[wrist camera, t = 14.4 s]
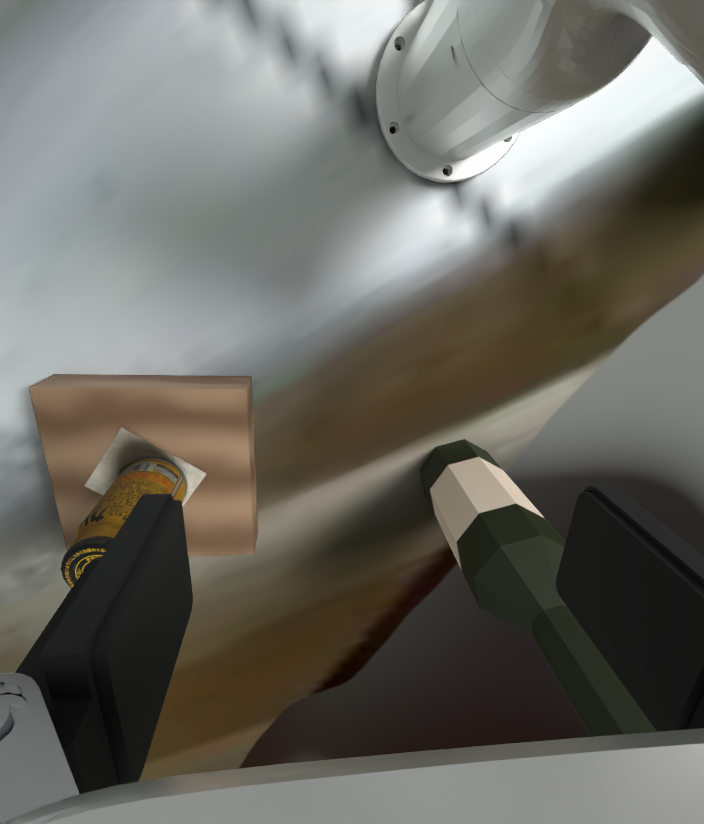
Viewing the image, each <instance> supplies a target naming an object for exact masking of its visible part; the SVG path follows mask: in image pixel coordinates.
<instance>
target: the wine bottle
mask: <svg viewBox="0 0 704 824" xmlns="http://www.w3.org/2000/svg"><path fill="white" fill-rule="evenodd" d="M420 473H421V477H422V482H423V487H424V492H425V495H426V497H427V499H428V501H429V503H430V505H431V507H432V509H433V512H434V514H435V516H436V518H437V520H438V522H439V524H440V526H441V528H442V530H443V532H444V535H445V537H446V539H447V541H448V543H449V545H450V547H451V549H452V551H453V553H454V556H455V558H456V560H457V562H458V564H459V566H460V568H461V570H462V572H463V574H464V576H465V579H466V580H467V583H468V585H469V587H470V589H471V591H472V593H473V595H474V597H475V599H476V602H477V604H478V606H479V608H480V609H482V610H484V611H486V612H488V613H489V614H492V615H493V616H495V617H497V618H499V619H500V620H502V621H504V622H506V623H508V624H510V625H512V626H513V627H515V628H517V629H519V630H521V631H523V632H524V633H526V634H528V635H530V636H532V637H533V638H534V640H535V642H536V644H537V645H538V647H539V648H540V650H541V652H542V654H543V656H544V657H545V659H546V661H547V663H548V664H549V666H550V668H551V670H552V671H553V673H554V675H555V676H556V678H557V680H558V682H559V683H560V685H561V687H562V688H563V690H564V692H565V694H566V696H567V697H568V699H569V701H570V702H571V704H572V706H573V708H574V709H575V711H576V713H577V714H578V716H579V718H580V720H581V721H582V723H583V725H584V727H585V728H586V730H587V732H588V733H589V735H590V737H598V736H610V735H623V734H636V733H649V732H657V731H656V729H655V728H654V727H653V725H652V724H651V723H650V721H649V720H648V719H647V717H646V716H645V714H644V713H643V712H642V710H641V709H640V707H639V706H638V705H637V703H636V702H635V700H634V699H633V698H632V696H631V695H630V693H629V692H628V691H627V689H626V688H625V686H624V685H623V684H622V682H621V681H620V680H619V678H618V677H617V675H616V674H615V673H614V671H613V670H612V668H611V667H610V666H609V664H608V663H607V661H606V660H605V659H604V657H603V656H602V654H601V653H600V652H599V650H598V649H597V647H596V646H595V645H594V643H593V642H592V641H591V639H590V638H589V636H588V635H587V634H586V632H585V631H584V629H583V628H582V627H581V625H580V624H579V622H578V621H577V620H576V618H575V617H574V615H573V614H572V613H571V611H570V610H569V608H568V607H567V606H566V604H565V603H564V602H563V600H562V599H561V597H560V596H559V594H558V592H557V589H556V577H557V573H558V570H559V566H560V562H561V558H562V555H563V551H564V547H565V543H566V542H565V541H564V540H563V539H562V538H561V537H560V535H559V534H558V533H557V532H556V531H555V530H554V529H553V527H552V526H551V525H550V524H549V523H548V522H547V521H546V520H545V518H544V517H543V516H542V515H541V514H540V512H539V511H538V510H537V509H536V508H535V507H534V505H533V504H532V503H531V502H530V501H529V500H528V499H527V498H526V496H525V495H524V494H523V493H522V492H521V491H520V489H519V488H518V487H517V486H516V485H515V484H514V482H513V481H512V480H511V479H510V478H509V477H508V475H507V474H506V473H505V472H504V471H503V470H502V469H501V467H500V466H499V465H498V464H497V463H496V462H495V460H494V459H493V458H492V457H491V456H490V455H489V454H488V452H486V451H485V450H483V449H481V448H479V447H477V446H476V445H474V444H472V443H470V442H468V441H467V440H465V439H464V440H460V441H456V442H453V443H449V444H445V445H441V446H438V447H436V448H435V449H434V451H433V452H432V454H431V455H430V456H429V458H428V459H427V461H426V462H425V463H424V465H423V466H422V468H421V469H420Z"/></svg>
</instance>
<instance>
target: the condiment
mask: <svg viewBox="0 0 704 824" xmlns="http://www.w3.org/2000/svg"><path fill="white" fill-rule="evenodd" d="M205 476H206V473H204V472H203V471H201V470H199V469H197V468H196V467H194V466H192V465H191V464H189V463H187V462H185V461H183V460H182V459H180V458H178V457H176V456H174V455H173V454H171V453H168V452H166V451H165V450H163V449H160V448H158V447H156V446H155V445H153V444H152V443H150V442H148V441H146V440H144V439H143V438H141V437H139V436H136V435H134V434H132V433H130V432H129V431H127V430H125V429H123V428H122V427H121V429H120V430H119V432H118V434H117V435H116V437H115V438H114V440H113V442H112V443H111V445H110V446H109V448H108V450H107V451H106V453H105V454H104V456H103V458H102V459H101V461H100V462H99V464H98V465H97V467H96V469H95V470H94V472H93V473H92V475H91V477H90V478H89V480H88V481H87V483H86V484H85V487H87V488H90V489H91V490H93V491H95V492H98V493H100V494H102V495H103V497H102V498H101V499H100V501H99V502H98V503H97V505H96V506H95V507H94V508H93V509H92V511H91V512H90V513H89V515H88V516H87V517H86V518H85V520H84V521H83V522H82V523H81V524H80V526H79V528H78V530H77V532H76V536H75V540H74V542H73V543H72V545H71V547H70V548H69V550H68V551H67V553H66V554H65V556H64V558H63V561H62V566H61V571H62V575H63V578H64V580H65V581H66V583H67V584H68V585H69V586H70V587H71V588H72V587H73V586H74V584H75V583H76V581H77V580H78V578H79V577H80V575H81V574H82V572H83V571H84V569H85V568H86V566H87V565H88V564H89V563H90V561H91V560H92V559H94V558H96V557H102V556H103V555H104V553H105V552H106V550H107V549H108V547H109V545H110V544H111V542H112V541H113V539H114V538H115V536H116V535H117V533H118V531H119V530H120V528H121V527H122V525H123V524H124V522H125V520H126V519H127V517H128V516H129V514H130V513H131V511H132V510H133V508H134V506H135V505H136V503H137V502H138V500H139V499H140V497H141V496H142V495H143V494H171V495H172V496H173V499H174V500H180V501H181V502H182V507H183V506H184V505H185V503H186V502H187V500H188V499H189V498H190V496H191V495H192V493H193V492H194V491H195V489H196V488H197V487H198V485H199V484H200V483H201V481H202V480H203V478H204V477H205Z"/></svg>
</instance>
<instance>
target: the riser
mask: <svg viewBox="0 0 704 824" xmlns="http://www.w3.org/2000/svg"><path fill="white" fill-rule="evenodd" d="M29 391H30V395H31V400H32V404H33V408H34V412H35V416H36V421H37V425H38V429H39V433H40V437H41V442H42V446H43V450H44V454H45V458H46V463H47V467H48V471H49V475H50V480H51V484H52V488H53V492H54V496H55V501H56V505H57V509H58V513H59V517H60V522H61V526H62V530H63V534H64V539H65V543H66V547H67V551H68V550H69V548H70V547H71V545H72V543H73V542H74V540H75V536H76V532H77V530H78V528H79V526H80V524H81V523H82V522H83V521H84V520H85V518H86V517H87V516H88V515H89V513H90V512H91V511H92V509H93V508H94V507H95V506H96V505H97V503H98V502H99V501H100V499H101V498H102V497H103V495H102V494H100V493H98V492H95V491H93V490H91V489H90V488H87V487H85V484H86V483H87V481H88V480H89V478H90V477H91V475H92V473H93V472H94V470H95V469H96V467H97V465H98V464H99V462H100V461H101V459H102V458H103V456H104V454H105V453H106V451H107V450H108V448H109V446H110V445H111V443H112V442H113V440H114V438H115V437H116V435H117V434H118V432H119V430H120V429H121V427H122V428H123V429H125V430H127V431H129V432H130V433H132V434H134V435H136V436H139V437H141V438H143V439H144V440H146V441H148V442H150V443H152V444H153V445H155V446H156V447H158V448H160V449H163V450H165V451H166V452H168V453H171V454H173V455H174V456H176V457H178V458H180V459H182V460H183V461H185V462H187V463H189V464H191V465H192V466H194V467H196V468H197V469H199V470H201V471H203V472H204V473H206V476H205V477H204V478H203V480H202V481H201V483H200V484H199V485H198V487H197V488H196V489H195V491H194V492H193V493H192V495H191V496H190V498H189V499H188V500H187V502H186V503H185V505H184V506H183V516H184V524H185V533H186V542H187V550H188V556H214V555H244V554H254V553H255V547H256V540H257V534H258V517H257V493H256V470H255V447H254V424H253V401H252V377H251V376H166V375H75V374H54V375H52V376H50V377H48V378H46V379H44V380H42V381H40V382H38V383H37V384H35V385H33V386H31V387H29Z"/></svg>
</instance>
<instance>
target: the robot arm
mask: <svg viewBox="0 0 704 824" xmlns="http://www.w3.org/2000/svg"><path fill="white" fill-rule="evenodd" d="M652 36H654V37H655V38H656V39H657V40H658V41H659V42H660V43H661V44H662V45H663V46H664V47H665V48H666V49H667V50H668V51H669V52H670V53H671V55H672V56H673V57H674V58H675V59H676V60H677V61H678V62H679V63H682V64H684V65H685V66H686V67H687V68H688V69H689V70H690V71H691V72H692V73H693V74H694V75H695V76H696V77H697V78H698V79H699V80H700V81H701V82H702V83H703V84H704V0H425V1H424V2H422V3H421V4H419V5H417V6H416V7H415V8H414V9H413V10H412V11H411V12H410V13H408V14H407V15H406V16H405V17H404V18H403V20H402V21H401V22H400V24H399V25H398V27H397V28H396V29H395V31H394V32H393V34H392V36H391V38H390V40H389V42H388V44H387V46H386V48H385V51H384V53H383V56H382V59H381V61H380V66H379V70H378V75H377V80H376V107H377V116H378V120H379V123H380V127H381V131H382V133H383V135H384V138H385V140H386V142H387V144H388V146H389V148H390V149H391V151H392V152H393V153H394V155H395V156H396V158H397V159H398V160H399V161H400V162H401V163H402V164H403V165H404V166H405V167H406V168H407V169H409V170H410V171H412V172H413V173H415V174H417V175H418V176H420V177H422V178H425V179H428V180H431V181H435V182H444V183H450V182H459V181H463V180H466V179H470V178H472V177H475V176H477V175H479V174H481V173H483V172H485V171H486V170H488V169H489V168H491V167H492V166H493V165H495V164H496V163H497V162H498V161H499V160H500V159H501V158H502V157H503V156H504V155H505V154H506V153H507V152H508V150H509V149H510V148H511V146H512V145H513V144H514V142H515V141H516V139H517V137H518V135H519V133H520V132H521V131H523V130H525V129H527V128H529V127H531V126H533V125H535V124H537V123H539V122H541V121H543V120H545V119H547V118H549V117H551V116H553V115H555V114H557V113H559V112H561V111H563V110H565V109H566V108H568V107H570V106H572V105H574V104H576V103H577V102H579V101H581V100H583V99H585V98H587V97H589V96H591V95H593V94H594V93H596V92H598V91H599V90H601V89H602V88H604V87H605V86H606V85H608V84H609V83H611V82H612V81H613V80H614V79H615V78H617V77H618V76H619V75H620V74H621V73H622V72H623V71H624V70H625V69H626V68H627V67H628V66H629V65H630V64H631V63H632V62H633V61H634V60H635V59H636V58H637V56H638V55H639V54H640V53H641V51H642V50H643V49H644V47H645V46H646V44H647V43H648V42H649V40H650V39H651V37H652ZM395 45H399V46H400V51H398V50H396V48H395ZM391 127H393V128H394V129H395V133H394V134H392V133H391V132H390V128H391ZM503 140H505V142H504V141H503ZM443 169H446V170H447V174H446V175H443V172H442V171H443ZM556 589H557V592H558V594H559V596H560V597H561V599H562V600H563V602H564V603H565V604H566V606H567V607H568V608H569V610H570V611H571V613H572V614H573V615H574V617H575V618H576V620H577V621H578V622H579V624H580V625H581V627H582V628H583V629H584V631H585V632H586V634H587V635H588V636H589V638H590V639H591V641H592V642H593V643H594V645H595V646H596V647H597V649H598V650H599V652H600V653H601V654H602V656H603V657H604V659H605V660H606V661H607V663H608V664H609V666H610V667H611V668H612V670H613V671H614V673H615V674H616V675H617V677H618V678H619V680H620V681H621V682H622V684H623V685H624V686H625V688H626V689H627V691H628V692H629V693H630V695H631V696H632V698H633V699H634V700H635V702H636V703H637V705H638V706H639V707H640V709H641V710H642V712H643V713H644V714H645V716H646V717H647V719H648V720H649V721H650V723H651V724H652V725H653V727H654V728H655V729H656V731H657V732H649V733H636V734H623V735H610V736H598V737H586V738H575V739H562V740H551V741H538V742H526V743H514V744H502V745H491V746H479V747H468V748H456V749H444V750H432V751H421V752H410V753H399V754H388V755H378V756H367V757H355V758H344V759H334V760H323V761H311V762H301V763H289V764H278V765H269V766H261V767H251V768H242V769H233V770H224V771H215V772H206V773H196V774H187V775H178V776H171V777H164V778H158V779H152V780H146V781H140V782H138V780H139V778H140V777H141V774H142V771H143V768H144V765H145V761H146V758H147V755H148V751H149V748H150V745H151V742H152V738H153V735H154V732H155V729H156V725H157V722H158V719H159V715H160V712H161V709H162V706H163V702H164V699H165V696H166V693H167V689H168V686H169V683H170V679H171V676H172V673H173V670H174V666H175V663H176V660H177V657H178V653H179V650H180V647H181V643H182V640H183V637H184V634H185V630H186V627H187V624H188V621H189V617H190V614H191V610H192V602H193V594H192V585H191V576H190V568H189V559H188V550H187V542H186V533H185V524H184V516H183V507H182V502H181V501H180V500H174V499H173V496H172V495H171V494H143V495H142V496H141V497H140V499H139V500H138V502H137V503H136V505H135V506H134V508H133V510H132V511H131V513H130V514H129V516H128V517H127V519H126V520H125V522H124V524H123V525H122V527H121V528H120V530H119V531H118V533H117V535H116V536H115V538H114V539H113V541H112V542H111V544H110V545H109V547H108V549H107V550H106V552H105V553H104V555H103V556H102V557H96V558H94V559H92V560H91V561H90V563H89V564H88V565H87V566H86V568H85V569H84V571H83V572H82V574H81V575H80V577H79V578H78V580H77V581H76V583H75V584H74V586H73V587H72V589H71V590H70V592H69V593H68V595H67V596H66V598H65V599H64V601H63V602H62V604H61V605H60V607H59V608H58V610H57V611H56V613H55V614H54V616H53V617H52V619H51V620H50V622H49V623H48V625H47V626H46V627H45V629H44V630H43V632H42V633H41V635H40V636H39V638H38V639H37V641H36V642H35V644H34V645H33V647H32V648H31V650H30V651H29V653H28V654H27V656H26V657H25V659H24V660H23V662H22V663H21V665H20V666H19V668H18V669H17V671H16V672H15V673H2V674H0V824H704V556H703V555H701V554H700V553H699V552H698V551H696V550H695V549H694V548H693V547H691V546H690V545H689V544H687V543H686V542H685V541H684V540H682V539H681V538H680V537H679V536H677V535H676V534H675V533H673V532H672V531H671V530H670V529H669V528H667V527H666V526H665V525H663V524H662V523H661V522H659V521H658V520H657V519H656V518H655V517H653V516H652V515H651V514H650V513H648V512H647V511H646V510H644V509H643V508H642V507H641V506H639V505H638V504H637V503H636V502H634V501H633V500H632V499H631V498H629V497H628V496H627V495H625V494H624V493H623V492H622V491H620V490H619V489H618V488H616V487H614V486H590V487H587V488H586V489H585V490H584V492H583V493H581V494H580V495H579V496H578V498H577V502H576V506H575V510H574V513H573V517H572V521H571V525H570V528H569V532H568V536H567V540H566V543H565V547H564V551H563V555H562V558H561V562H560V566H559V570H558V573H557V577H556Z"/></svg>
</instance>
